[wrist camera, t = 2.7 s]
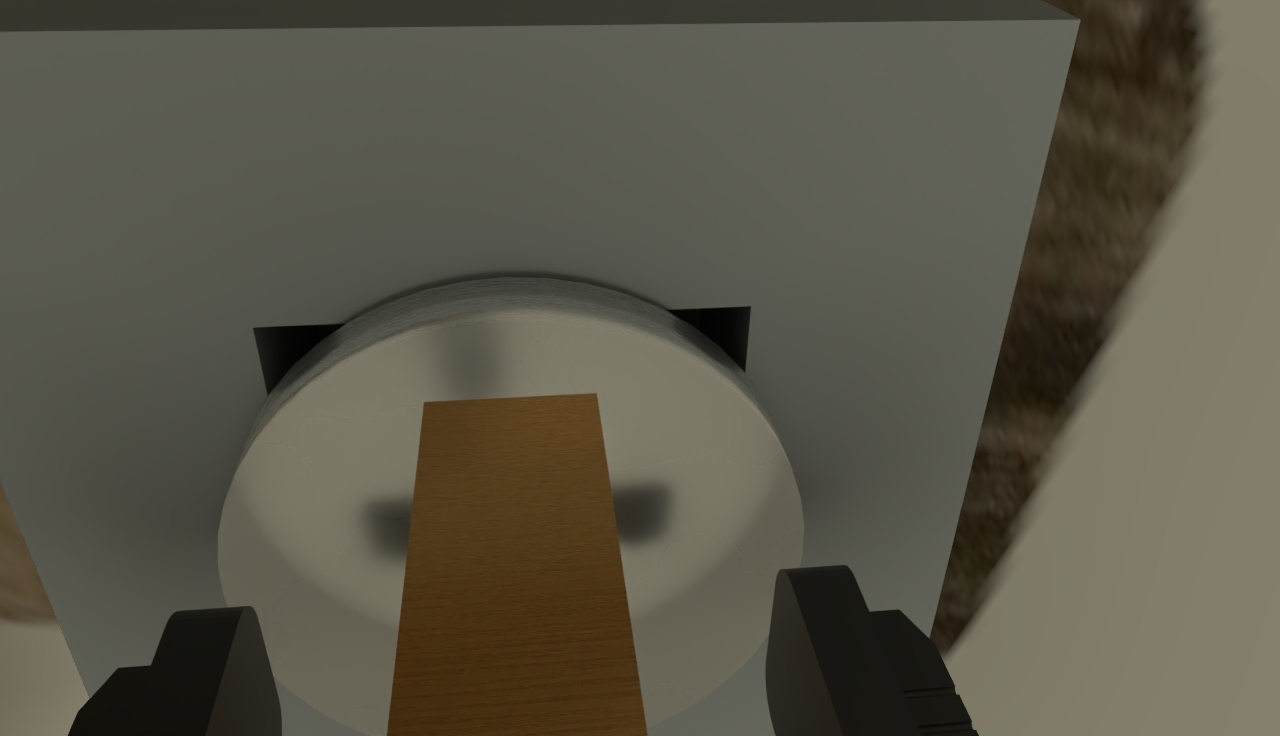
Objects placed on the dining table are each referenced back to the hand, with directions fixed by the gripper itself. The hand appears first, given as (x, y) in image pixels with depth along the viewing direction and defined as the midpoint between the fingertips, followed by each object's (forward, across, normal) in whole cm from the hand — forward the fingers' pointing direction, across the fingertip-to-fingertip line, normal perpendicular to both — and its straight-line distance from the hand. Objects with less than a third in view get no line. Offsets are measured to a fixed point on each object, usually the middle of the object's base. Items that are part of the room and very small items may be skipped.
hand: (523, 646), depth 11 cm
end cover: (+5, 0, 0) cm, 5 cm away
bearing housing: (+10, 0, 0) cm, 10 cm away
